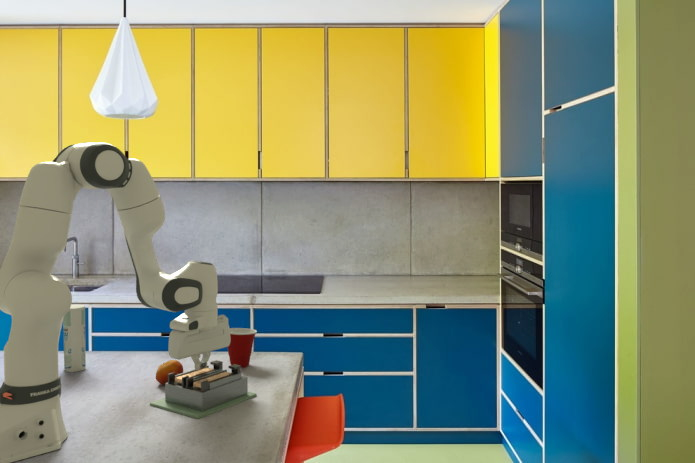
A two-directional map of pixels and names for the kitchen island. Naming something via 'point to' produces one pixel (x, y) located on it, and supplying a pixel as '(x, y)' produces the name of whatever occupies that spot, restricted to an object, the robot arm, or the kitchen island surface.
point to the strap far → (194, 374)
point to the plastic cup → (241, 346)
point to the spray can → (74, 339)
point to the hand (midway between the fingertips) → (200, 368)
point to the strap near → (212, 378)
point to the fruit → (168, 370)
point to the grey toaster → (206, 388)
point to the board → (195, 413)
